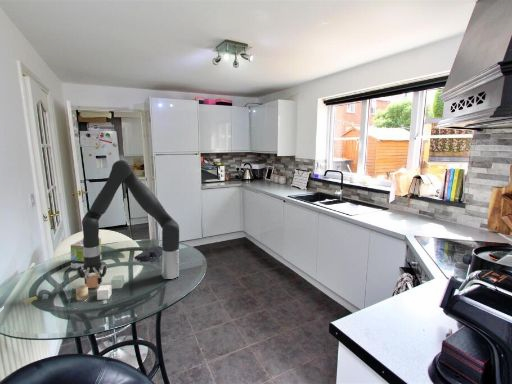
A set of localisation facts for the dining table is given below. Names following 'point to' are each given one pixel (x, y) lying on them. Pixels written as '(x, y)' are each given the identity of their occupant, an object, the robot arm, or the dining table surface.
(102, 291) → the cream block
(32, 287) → the dining table surface
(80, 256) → the tea box
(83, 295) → the maple cylinder
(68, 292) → the dining table surface
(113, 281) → the sage block
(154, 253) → the dark slate chunk
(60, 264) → the dining table surface
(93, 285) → the terracotta block
